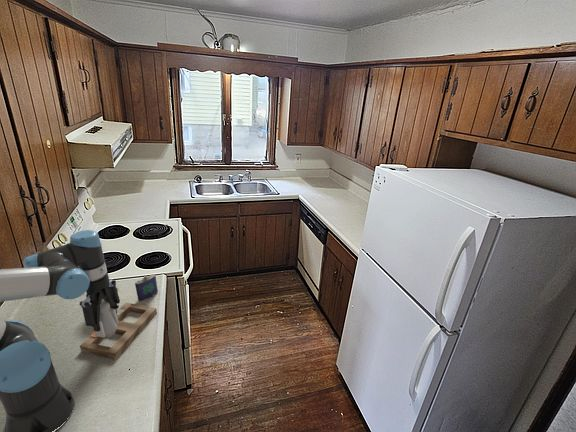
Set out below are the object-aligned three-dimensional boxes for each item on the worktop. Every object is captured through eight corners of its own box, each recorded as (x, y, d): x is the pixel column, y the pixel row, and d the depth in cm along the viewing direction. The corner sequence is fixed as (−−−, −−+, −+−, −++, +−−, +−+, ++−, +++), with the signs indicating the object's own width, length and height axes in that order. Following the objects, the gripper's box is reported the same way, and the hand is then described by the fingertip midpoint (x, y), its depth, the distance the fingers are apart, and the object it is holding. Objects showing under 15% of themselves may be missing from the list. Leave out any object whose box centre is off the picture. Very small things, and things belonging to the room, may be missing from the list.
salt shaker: (110, 340, 107) (102, 311, 102) (96, 337, 108) (88, 308, 103) (121, 329, 112) (115, 300, 107) (108, 326, 113) (101, 298, 108)
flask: (156, 289, 141) (153, 270, 136) (159, 292, 139) (156, 272, 135) (136, 299, 134) (133, 279, 129) (140, 302, 132) (136, 282, 128)
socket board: (116, 358, 105) (114, 352, 104) (81, 351, 107) (79, 345, 106) (156, 312, 127) (156, 307, 126) (126, 307, 129) (125, 301, 128)
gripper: (81, 294, 91) (97, 352, 100) (124, 262, 108) (134, 313, 117) (59, 290, 92) (77, 347, 101) (105, 259, 109) (117, 310, 118)
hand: (108, 329), depth 109 cm, fingers closed on salt shaker, 6 cm apart
